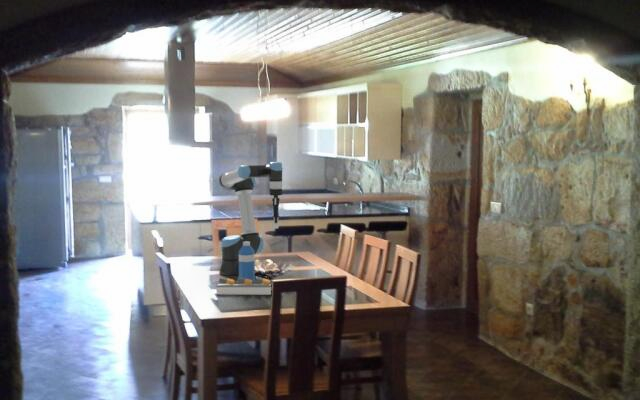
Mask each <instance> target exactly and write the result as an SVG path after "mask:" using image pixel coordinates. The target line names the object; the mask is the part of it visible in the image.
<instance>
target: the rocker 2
mask: <svg viewBox="0 0 640 400" xmlns="http://www.w3.org/2000/svg"><path fill="white" fill-rule="evenodd" d="M236 281H237V282H240V283H244V284H247V285H251V284H252V280H250V279H247V278H243V277H239V276H238V277H237V279H236Z"/></svg>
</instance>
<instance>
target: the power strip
mask: <svg viewBox="0 0 640 400" xmlns="http://www.w3.org/2000/svg"><path fill="white" fill-rule="evenodd" d="M271 284H272V285H273V281H270V284H269V285H265V284H262V283H258V282H255V281H252V284H251V285H247V284H244V283H240V282H237V280H235V281H234V284H233V285H230V284H226V283H222V282H219V281H218V284H217V285H216V295H252V296H253V295H256V296H257V295H260V296H261V295H262V296H264V295H272V293H271Z"/></svg>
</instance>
